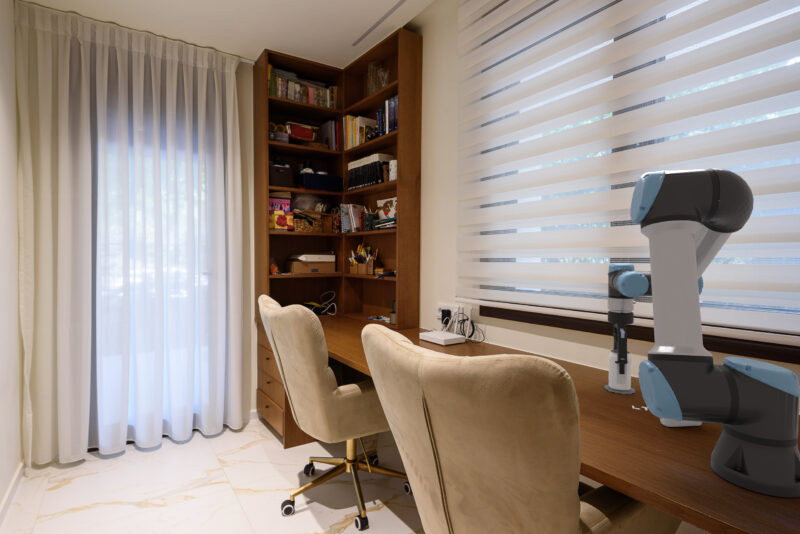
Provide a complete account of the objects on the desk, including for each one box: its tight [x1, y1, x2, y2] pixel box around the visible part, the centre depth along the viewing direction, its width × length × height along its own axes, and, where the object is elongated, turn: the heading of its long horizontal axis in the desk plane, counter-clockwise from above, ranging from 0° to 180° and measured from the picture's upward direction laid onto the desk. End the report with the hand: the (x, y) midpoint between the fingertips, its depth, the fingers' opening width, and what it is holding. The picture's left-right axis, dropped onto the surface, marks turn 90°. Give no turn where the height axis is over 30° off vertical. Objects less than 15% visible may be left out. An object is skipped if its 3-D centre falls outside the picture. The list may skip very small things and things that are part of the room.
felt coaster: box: [603, 383, 636, 395], centre depth 140 cm, size 9×9×1 cm
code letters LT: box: [631, 405, 648, 411], centre depth 124 cm, size 2×4×1 cm, turn 68°
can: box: [608, 349, 632, 391], centre depth 140 cm, size 6×6×12 cm
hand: (619, 379), depth 140 cm, fingers open, 9 cm apart
